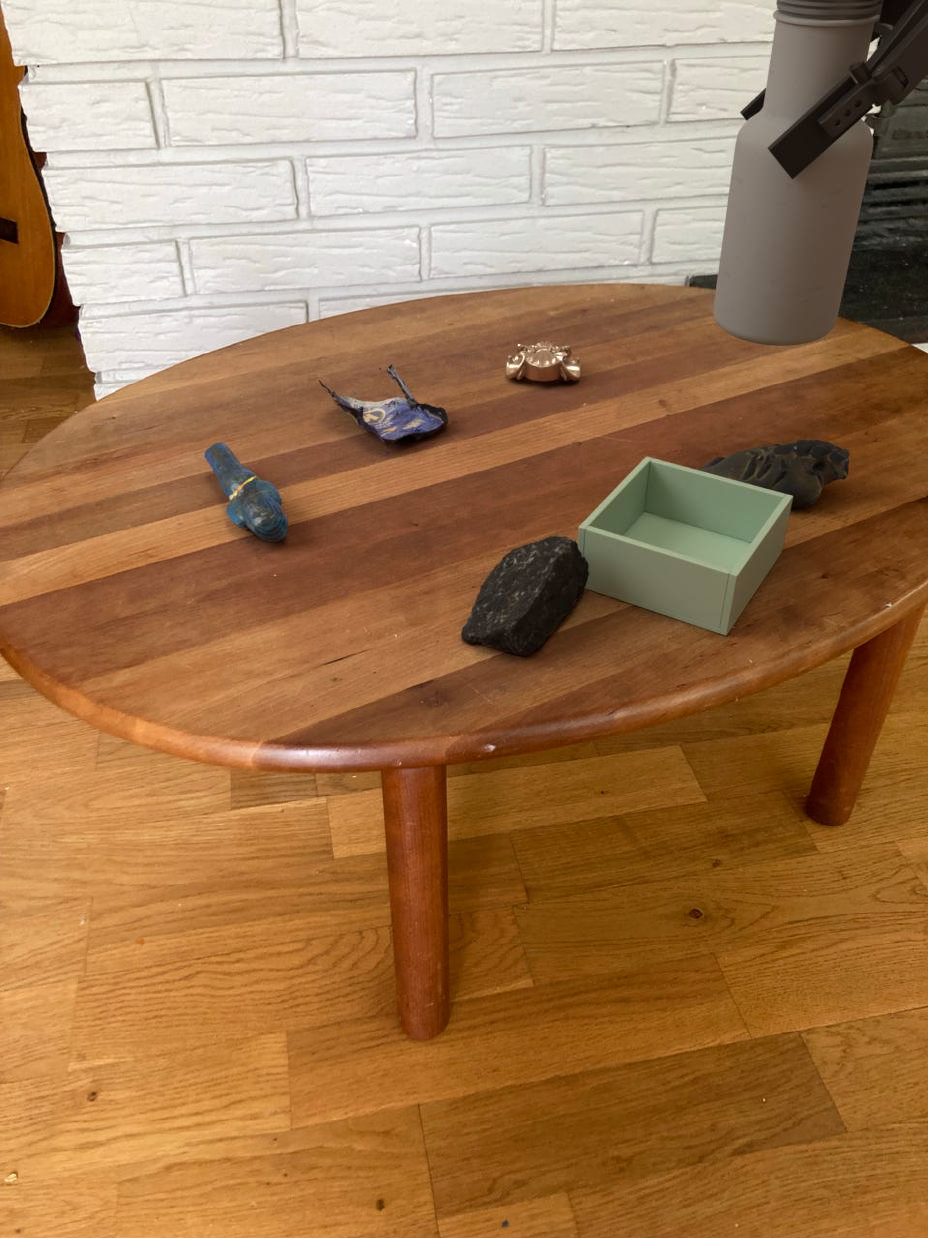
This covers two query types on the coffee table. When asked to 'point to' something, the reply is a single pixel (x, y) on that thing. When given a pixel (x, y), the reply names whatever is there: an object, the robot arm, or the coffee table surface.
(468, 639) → the rock
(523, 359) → the ornament
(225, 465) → the blue long piece
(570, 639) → the coffee table surface
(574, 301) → the coffee table surface
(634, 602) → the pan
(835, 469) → the stone
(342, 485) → the coffee table surface
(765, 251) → the water bottle
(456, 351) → the coffee table surface
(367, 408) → the snack package
